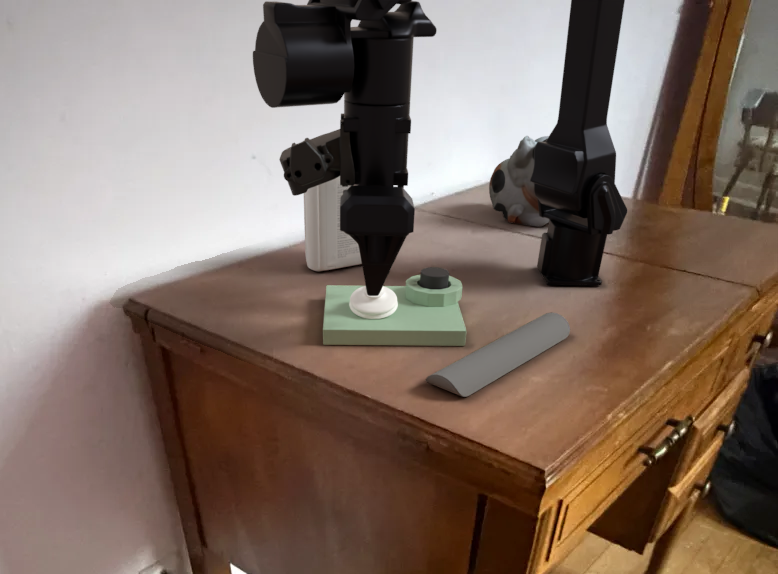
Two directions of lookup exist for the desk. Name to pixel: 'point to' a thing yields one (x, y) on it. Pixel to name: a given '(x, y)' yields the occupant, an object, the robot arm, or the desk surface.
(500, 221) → the desk surface
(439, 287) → the button
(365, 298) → the chess piece
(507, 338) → the gray half cylinder
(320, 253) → the white rounded block
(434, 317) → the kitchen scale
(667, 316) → the desk surface
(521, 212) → the lucky cat figurine
